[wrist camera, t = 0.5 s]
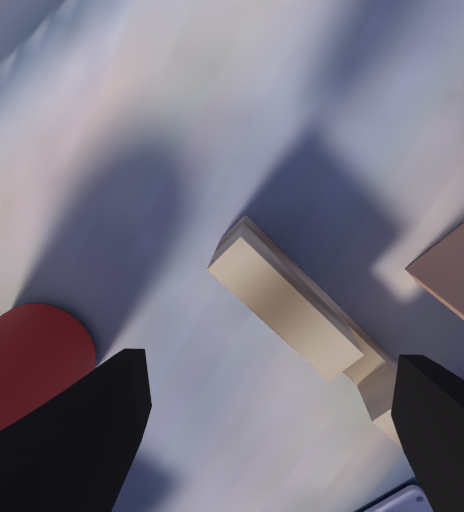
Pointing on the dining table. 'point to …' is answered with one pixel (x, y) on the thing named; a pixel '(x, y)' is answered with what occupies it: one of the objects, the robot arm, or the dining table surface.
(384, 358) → the slotted rail
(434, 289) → the tan thin board
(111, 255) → the dining table surface
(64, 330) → the beer can
